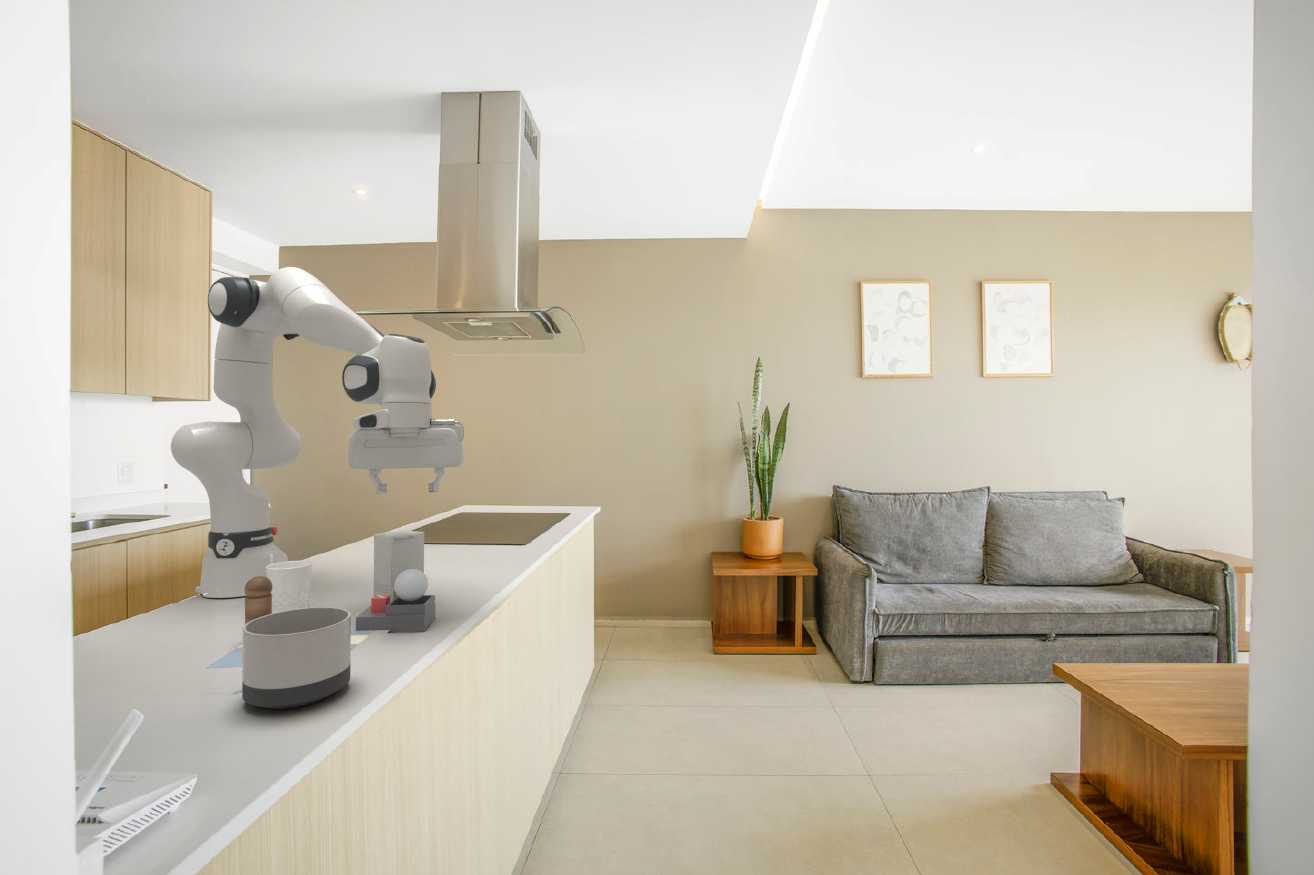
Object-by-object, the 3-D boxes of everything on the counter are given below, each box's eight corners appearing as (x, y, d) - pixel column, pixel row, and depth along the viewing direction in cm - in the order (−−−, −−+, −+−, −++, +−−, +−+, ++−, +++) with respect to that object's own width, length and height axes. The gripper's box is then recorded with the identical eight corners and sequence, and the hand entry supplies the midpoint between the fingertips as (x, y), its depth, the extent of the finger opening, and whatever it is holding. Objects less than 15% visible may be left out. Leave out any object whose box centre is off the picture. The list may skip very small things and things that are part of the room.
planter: (363, 696, 83) (363, 620, 83) (253, 727, 74) (253, 642, 74) (334, 670, 92) (335, 602, 92) (233, 694, 83) (234, 619, 83)
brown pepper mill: (251, 638, 104) (252, 573, 104) (278, 637, 104) (279, 573, 104) (237, 647, 99) (237, 579, 99) (265, 646, 100) (265, 579, 100)
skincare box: (390, 613, 121) (390, 536, 121) (370, 608, 125) (371, 533, 125) (425, 603, 128) (425, 531, 128) (406, 599, 132) (406, 528, 132)
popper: (371, 620, 116) (371, 591, 116) (435, 618, 118) (435, 589, 118) (355, 633, 108) (356, 602, 108) (424, 631, 110) (424, 600, 110)
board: (260, 636, 106) (260, 633, 106) (374, 633, 109) (374, 629, 109) (202, 672, 90) (202, 667, 90) (338, 667, 93) (338, 663, 93)
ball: (399, 597, 116) (399, 566, 116) (431, 596, 117) (431, 565, 117) (389, 605, 110) (389, 573, 110) (423, 604, 111) (423, 572, 111)
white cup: (320, 609, 124) (320, 561, 124) (293, 620, 116) (293, 569, 116) (284, 607, 124) (285, 560, 124) (255, 619, 117) (256, 568, 117)
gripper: (466, 419, 117) (467, 490, 117) (356, 421, 115) (357, 492, 114) (460, 418, 111) (461, 492, 111) (344, 419, 108) (344, 495, 108)
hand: (407, 492), depth 113 cm, fingers open, 8 cm apart
